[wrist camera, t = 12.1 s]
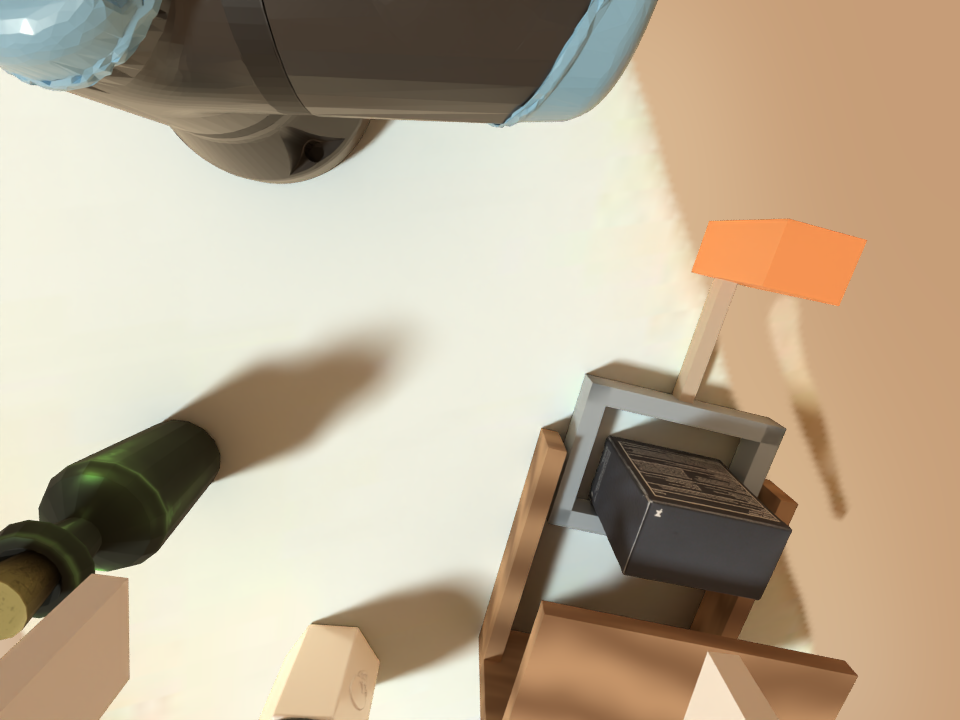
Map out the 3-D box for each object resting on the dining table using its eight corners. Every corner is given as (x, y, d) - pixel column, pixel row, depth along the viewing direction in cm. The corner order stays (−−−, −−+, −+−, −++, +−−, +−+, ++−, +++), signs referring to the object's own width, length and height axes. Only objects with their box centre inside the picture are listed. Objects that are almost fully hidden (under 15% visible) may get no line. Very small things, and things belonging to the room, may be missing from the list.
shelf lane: (541, 428, 43) (575, 522, 29) (769, 480, 45) (903, 592, 31) (478, 637, 48) (482, 800, 35) (684, 676, 50) (766, 847, 36)
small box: (584, 499, 45) (618, 579, 35) (606, 433, 43) (648, 496, 33) (696, 522, 46) (761, 607, 36) (721, 458, 44) (797, 527, 34)
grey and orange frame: (639, 202, 38) (696, 193, 29) (836, 255, 40) (953, 264, 30) (543, 507, 45) (564, 584, 35) (715, 544, 46) (781, 628, 37)
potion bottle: (195, 514, 44) (19, 699, 27) (115, 458, 43) (-128, 615, 26) (250, 451, 43) (102, 603, 26) (169, 390, 42) (-48, 507, 24)
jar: (393, 676, 49) (369, 815, 38) (319, 706, 50) (274, 850, 38) (349, 606, 47) (309, 730, 36) (272, 638, 48) (209, 769, 36)
